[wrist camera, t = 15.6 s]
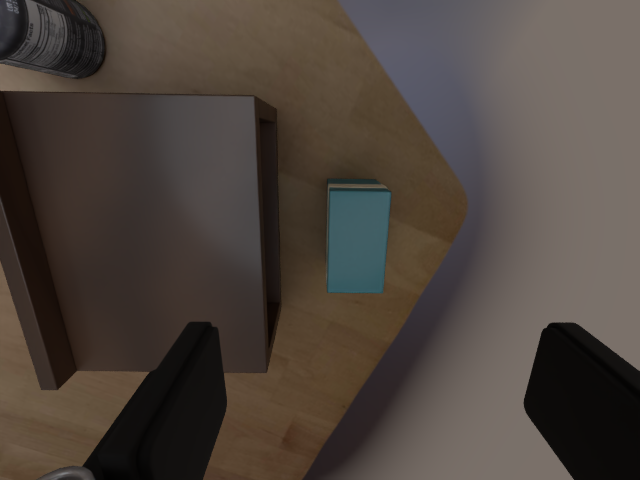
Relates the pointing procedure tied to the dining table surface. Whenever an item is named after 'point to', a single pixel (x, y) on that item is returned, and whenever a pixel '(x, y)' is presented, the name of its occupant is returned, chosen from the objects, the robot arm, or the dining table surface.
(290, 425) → the dining table surface
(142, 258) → the shelf
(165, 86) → the dining table surface
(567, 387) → the robot arm
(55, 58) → the pill bottle
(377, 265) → the block
